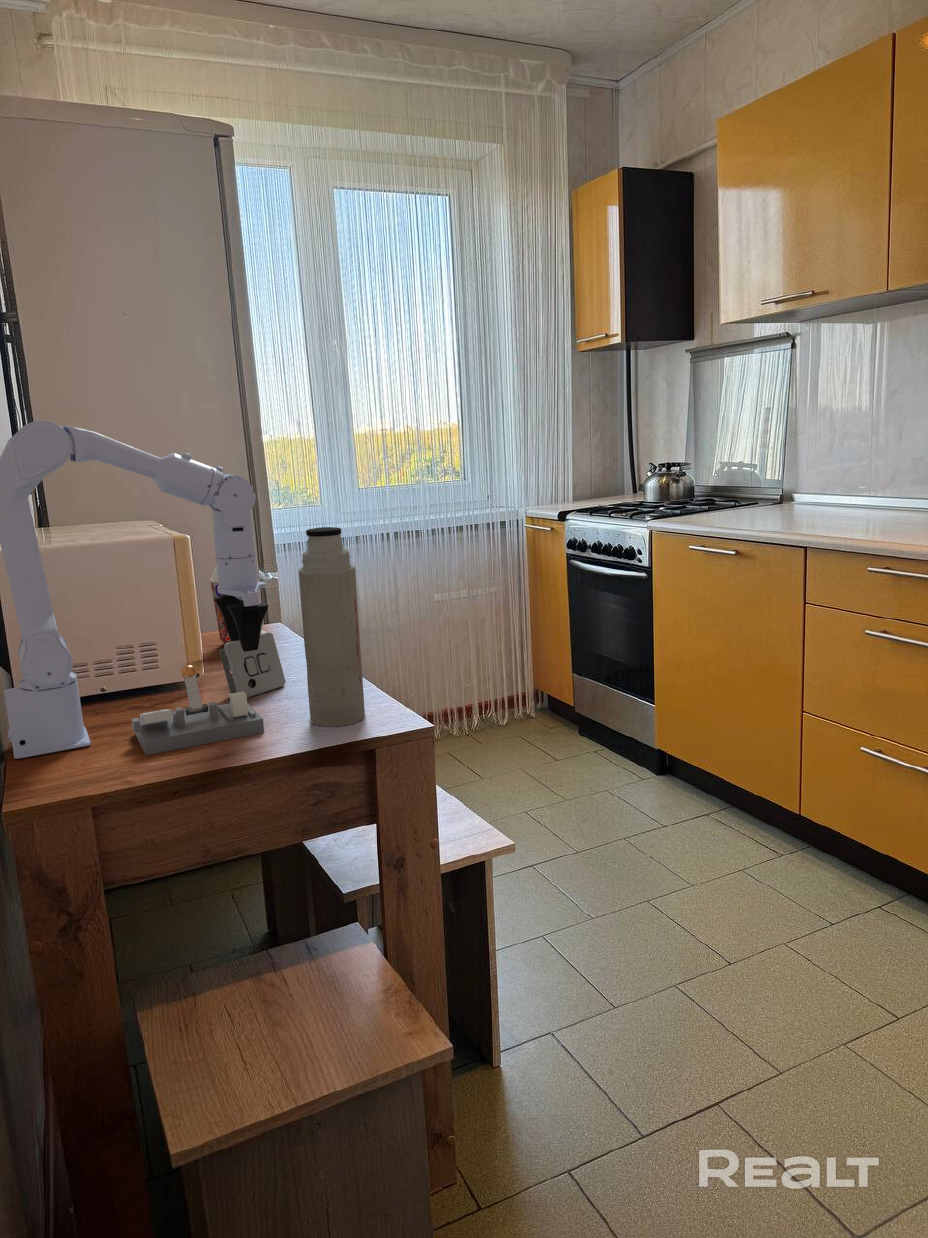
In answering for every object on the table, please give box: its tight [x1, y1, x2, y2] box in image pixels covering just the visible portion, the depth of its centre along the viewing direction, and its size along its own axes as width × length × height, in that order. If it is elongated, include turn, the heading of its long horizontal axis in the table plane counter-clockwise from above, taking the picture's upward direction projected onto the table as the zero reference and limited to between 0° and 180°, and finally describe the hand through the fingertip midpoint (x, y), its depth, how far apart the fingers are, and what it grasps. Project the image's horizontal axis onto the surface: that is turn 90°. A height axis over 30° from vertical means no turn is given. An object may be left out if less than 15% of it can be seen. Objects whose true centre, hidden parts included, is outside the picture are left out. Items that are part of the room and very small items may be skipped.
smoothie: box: [209, 565, 232, 646], centre depth 173 cm, size 8×8×20 cm
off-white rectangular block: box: [229, 692, 248, 717], centre depth 124 cm, size 2×2×3 cm
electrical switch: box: [218, 631, 287, 698], centre depth 143 cm, size 9×5×9 cm, turn 141°
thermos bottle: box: [298, 526, 366, 728], centre depth 125 cm, size 8×8×28 cm
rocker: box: [139, 709, 173, 723], centre depth 121 cm, size 4×6×1 cm, turn 28°
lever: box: [180, 664, 209, 716], centre depth 124 cm, size 3×2×7 cm
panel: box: [131, 701, 265, 756], centre depth 123 cm, size 17×10×4 cm, turn 118°
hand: (243, 645), depth 132 cm, fingers open, 7 cm apart
